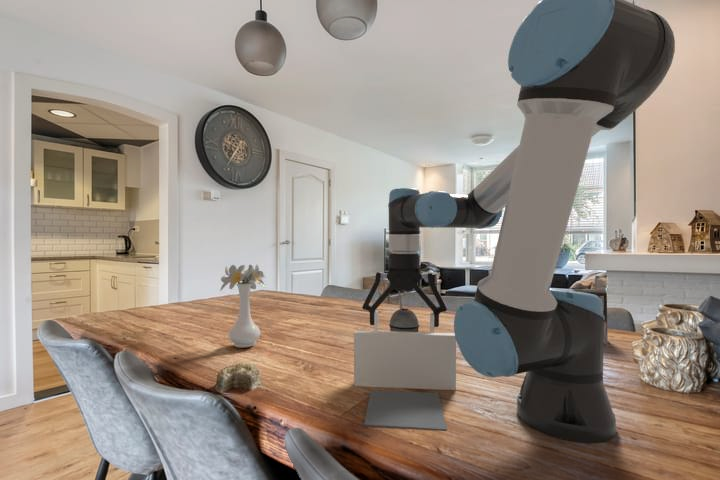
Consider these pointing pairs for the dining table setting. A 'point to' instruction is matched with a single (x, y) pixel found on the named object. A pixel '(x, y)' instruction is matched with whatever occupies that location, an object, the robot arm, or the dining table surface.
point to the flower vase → (243, 303)
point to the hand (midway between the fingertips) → (403, 339)
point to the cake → (237, 378)
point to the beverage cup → (403, 320)
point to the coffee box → (603, 296)
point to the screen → (405, 359)
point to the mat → (405, 410)
